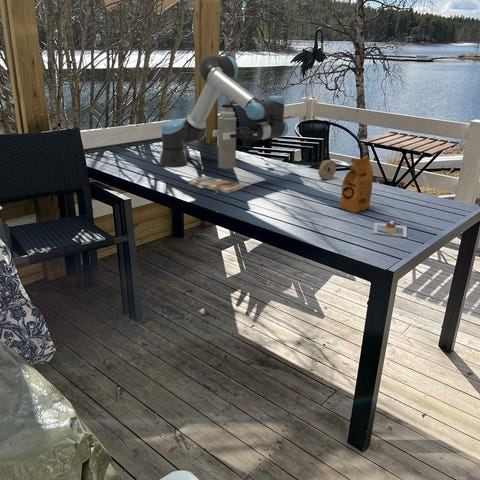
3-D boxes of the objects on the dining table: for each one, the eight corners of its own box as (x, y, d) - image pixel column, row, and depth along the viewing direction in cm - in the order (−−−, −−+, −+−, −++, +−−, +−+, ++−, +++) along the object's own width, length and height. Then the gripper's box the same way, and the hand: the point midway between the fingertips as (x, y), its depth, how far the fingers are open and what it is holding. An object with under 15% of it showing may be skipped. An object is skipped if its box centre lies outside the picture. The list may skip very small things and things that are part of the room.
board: (188, 183, 238) (188, 180, 238) (204, 178, 248) (204, 175, 247) (228, 193, 226) (228, 189, 225) (243, 187, 235) (243, 183, 234)
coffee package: (335, 208, 210) (341, 156, 201) (353, 202, 217) (359, 153, 209) (354, 214, 203) (360, 161, 194) (372, 208, 210) (379, 157, 202)
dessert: (374, 225, 193) (375, 213, 191) (406, 228, 190) (408, 217, 188) (372, 235, 182) (374, 223, 180) (406, 239, 179) (408, 227, 177)
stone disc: (330, 176, 258) (332, 157, 254) (335, 178, 255) (337, 159, 252) (316, 179, 252) (318, 160, 248) (321, 181, 249) (323, 161, 246)
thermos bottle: (223, 163, 234) (223, 103, 224) (238, 165, 231) (239, 104, 221) (215, 167, 228) (215, 104, 217) (230, 169, 224) (231, 106, 214)
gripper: (272, 142, 227) (230, 147, 215) (246, 135, 243) (206, 139, 230) (272, 126, 224) (230, 130, 212) (246, 120, 240) (206, 123, 228)
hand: (218, 135), depth 221 cm, fingers closed on thermos bottle, 8 cm apart
